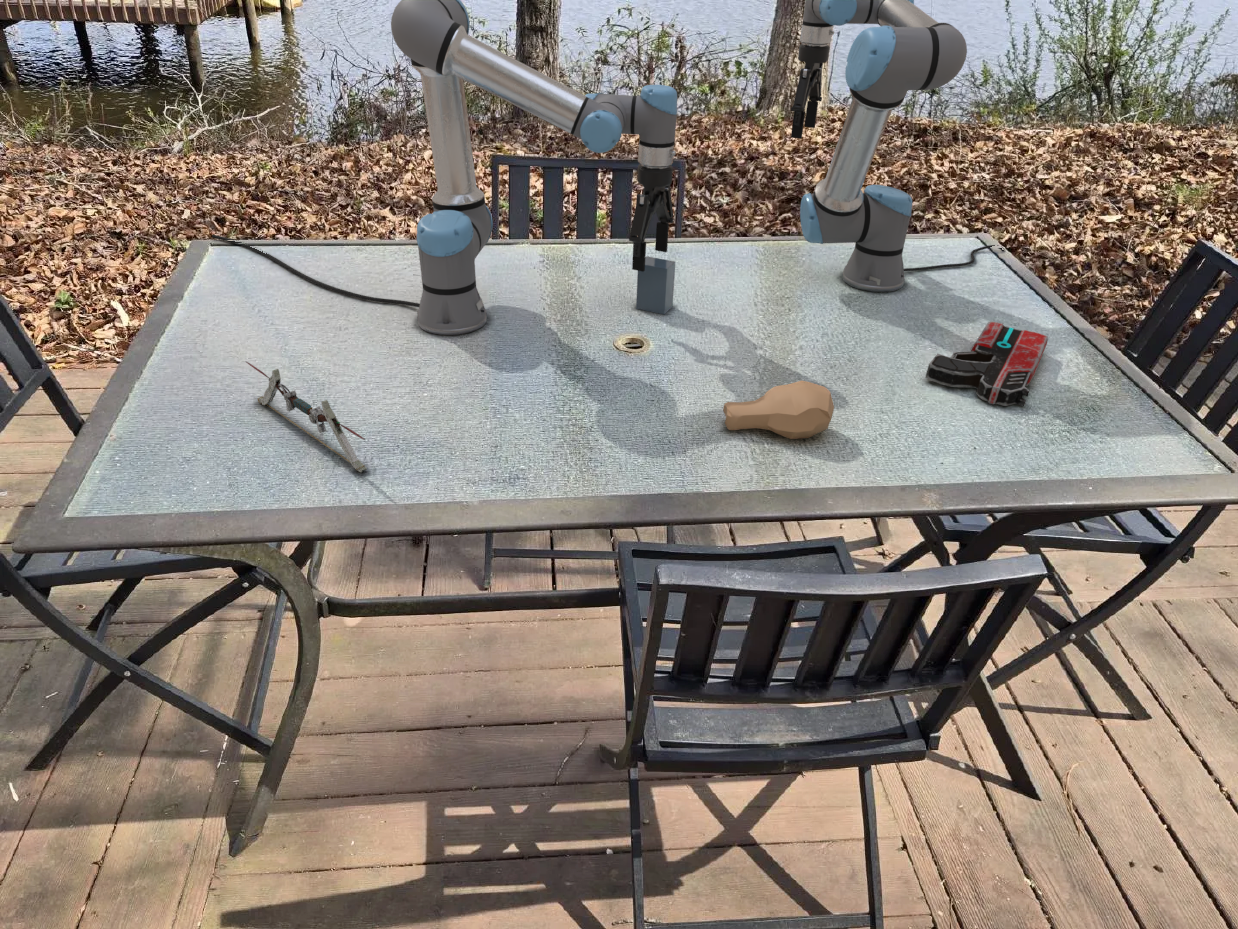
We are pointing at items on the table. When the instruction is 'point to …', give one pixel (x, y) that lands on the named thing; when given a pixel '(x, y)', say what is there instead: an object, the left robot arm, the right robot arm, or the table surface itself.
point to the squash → (784, 411)
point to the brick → (656, 285)
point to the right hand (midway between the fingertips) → (802, 132)
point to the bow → (311, 415)
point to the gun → (993, 364)
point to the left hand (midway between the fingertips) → (650, 260)
